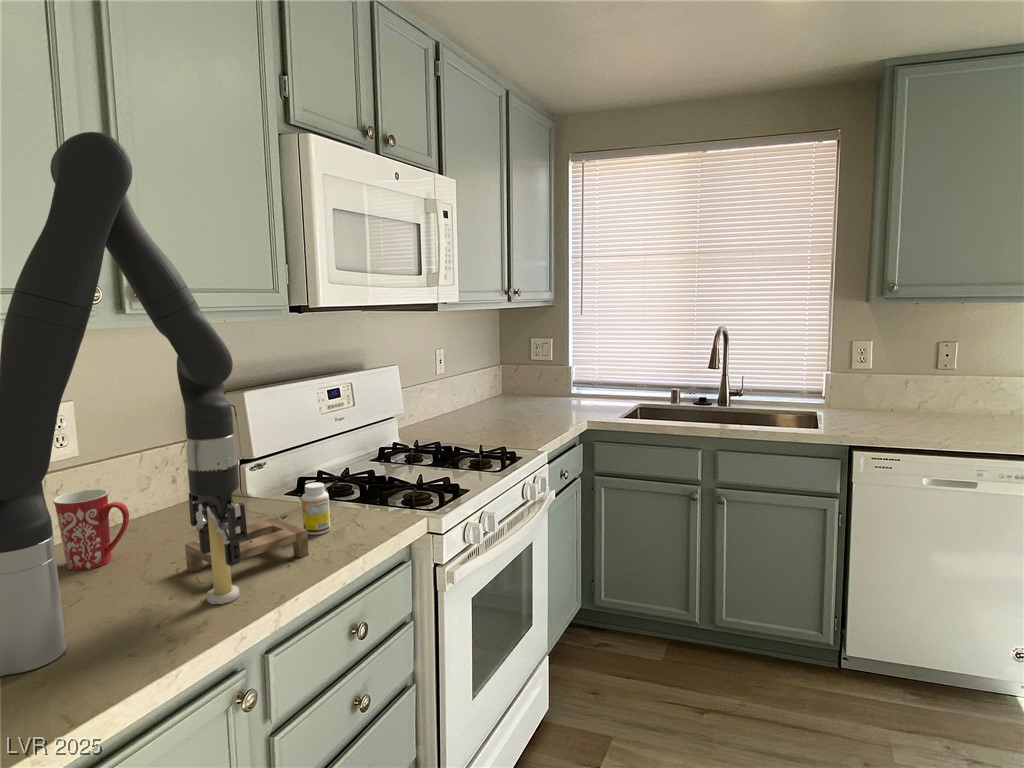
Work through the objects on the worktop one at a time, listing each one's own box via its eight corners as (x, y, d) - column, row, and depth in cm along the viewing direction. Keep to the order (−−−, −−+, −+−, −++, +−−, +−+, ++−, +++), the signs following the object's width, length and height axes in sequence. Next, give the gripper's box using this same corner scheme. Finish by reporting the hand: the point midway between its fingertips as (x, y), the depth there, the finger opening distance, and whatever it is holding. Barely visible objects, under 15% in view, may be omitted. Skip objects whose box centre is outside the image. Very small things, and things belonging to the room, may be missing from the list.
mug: (49, 573, 128) (41, 503, 126) (79, 555, 137) (72, 489, 135) (118, 572, 128) (111, 501, 126) (143, 553, 137) (137, 487, 135)
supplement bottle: (310, 526, 151) (307, 480, 150) (334, 527, 150) (332, 481, 149) (299, 535, 146) (296, 488, 144) (324, 536, 145) (321, 488, 143)
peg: (216, 607, 113) (209, 517, 111) (201, 599, 116) (194, 511, 114) (245, 597, 117) (238, 509, 115) (230, 589, 120) (223, 504, 118)
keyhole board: (220, 586, 121) (217, 559, 120) (187, 569, 129) (185, 543, 128) (308, 554, 135) (307, 530, 134) (274, 541, 142) (272, 517, 142)
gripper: (169, 461, 115) (177, 555, 117) (212, 474, 106) (220, 576, 108) (213, 452, 121) (220, 542, 123) (257, 464, 111) (264, 561, 114)
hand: (220, 557), depth 115 cm, fingers open, 8 cm apart
